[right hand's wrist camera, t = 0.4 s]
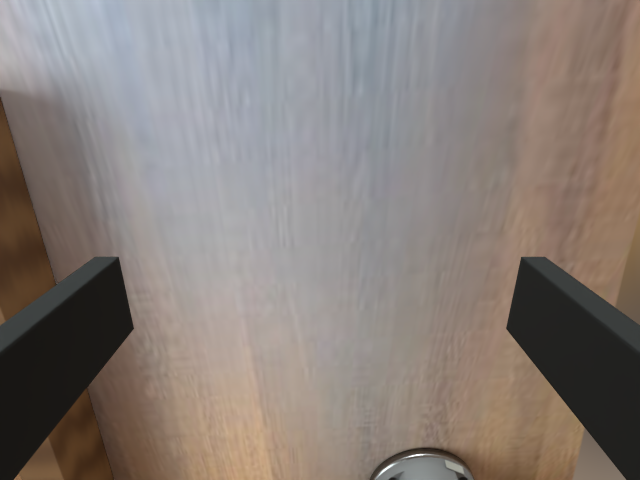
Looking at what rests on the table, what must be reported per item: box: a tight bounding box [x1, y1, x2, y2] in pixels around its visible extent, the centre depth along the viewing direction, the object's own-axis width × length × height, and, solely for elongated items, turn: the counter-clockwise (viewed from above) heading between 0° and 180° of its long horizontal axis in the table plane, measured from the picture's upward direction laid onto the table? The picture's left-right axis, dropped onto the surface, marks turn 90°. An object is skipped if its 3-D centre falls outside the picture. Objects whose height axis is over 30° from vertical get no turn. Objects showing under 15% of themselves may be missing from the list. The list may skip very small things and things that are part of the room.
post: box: [0, 99, 114, 480], centre depth 43 cm, size 61×5×7 cm, turn 0°
